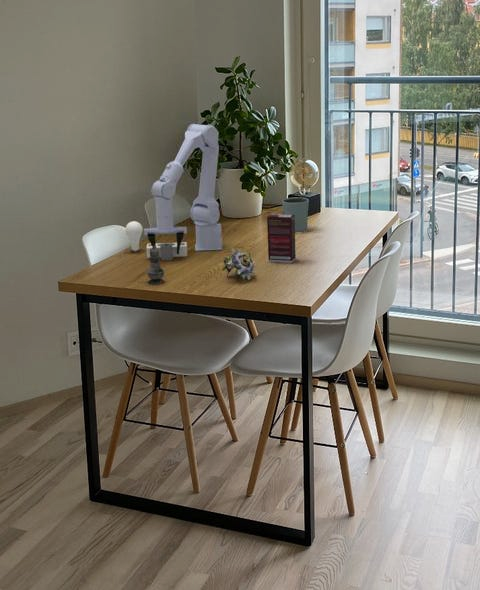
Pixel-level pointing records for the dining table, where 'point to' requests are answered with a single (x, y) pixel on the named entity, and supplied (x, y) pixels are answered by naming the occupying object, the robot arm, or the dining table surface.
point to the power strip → (174, 246)
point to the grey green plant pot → (297, 211)
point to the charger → (166, 251)
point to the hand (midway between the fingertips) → (166, 254)
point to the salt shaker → (155, 267)
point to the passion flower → (240, 264)
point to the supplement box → (281, 238)
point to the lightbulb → (134, 234)
